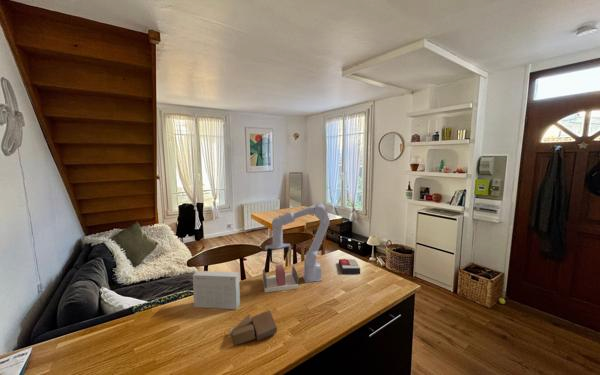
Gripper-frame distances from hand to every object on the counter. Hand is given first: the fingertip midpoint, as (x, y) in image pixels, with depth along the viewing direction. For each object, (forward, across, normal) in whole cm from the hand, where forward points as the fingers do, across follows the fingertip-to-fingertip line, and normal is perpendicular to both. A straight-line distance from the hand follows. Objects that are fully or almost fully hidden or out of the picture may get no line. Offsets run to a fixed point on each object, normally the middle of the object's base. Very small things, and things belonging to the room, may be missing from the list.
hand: (277, 260), depth 144 cm
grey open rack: (+10, 0, -8) cm, 13 cm away
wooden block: (+11, -17, -42) cm, 47 cm away
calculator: (+11, +45, +1) cm, 47 cm away
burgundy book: (+8, 0, -8) cm, 12 cm away
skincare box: (+11, -32, -20) cm, 39 cm away
